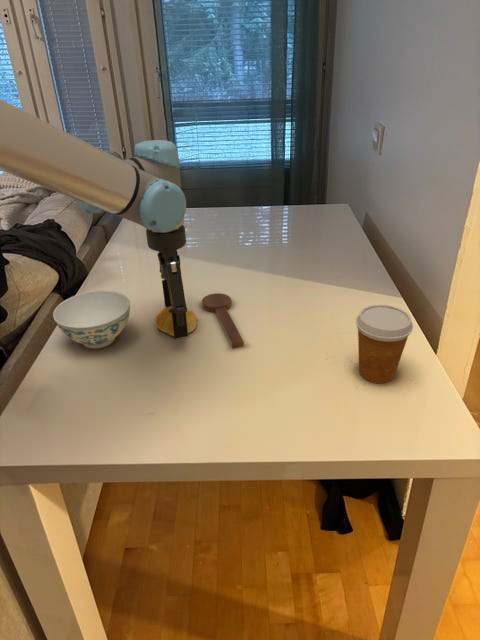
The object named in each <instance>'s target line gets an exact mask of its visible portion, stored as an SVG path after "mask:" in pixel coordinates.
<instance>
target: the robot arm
mask: <svg viewBox="0 0 480 640" xmlns="http://www.w3.org/2000/svg"><path fill="white" fill-rule="evenodd" d="M133 154H134V156H133V157H130V158H126V159H121V158H119V157H117V156H115V155H113V154H111V153H109V152H107V151H105V150H103V149H101V148H100V147H97V146H95V145H93V144H91V143H89V142H87V141H85V140H83V139H81V138H79V137H77V136H75V135H73V134H71V133H69V132H67V131H65V130H64V129H61V128H59V127H58V126H55V125H53V124H51V123H49V122H47V121H46V120H44V119H41V118H39V117H37V116H35V115H33V114H31V113H29V112H27V111H25V110H23V109H21V108H19V107H17V106H15V105H13V104H11V103H9V102H8V101H5V100H3V99H2V98H0V171H1V172H5V173H7V174H9V175H11V176H14V177H17V178H19V179H22V180H25V181H27V182H30V183H33V184H36V185H39V186H41V187H43V188H46V189H48V190H51V191H54V192H56V193H58V194H61V195H64V196H66V197H69V198H71V199H74V201H75V203H76V204H77V206H78V207H79V209H80V210H81V211H82V212H83V213H84V214H87V215H94V214H103V213H104V212H107V213H110V214H113V215H115V216H117V217H119V218H122V219H124V220H128V221H129V222H132V223H134V224H137V225H140V226H142V227H143V228H145V236H146V241H147V242H146V243H147V246H148V248H149V249H150V250H152V251H154V252H157V259H158V264H159V272H160V278H161V285H162V293H163V301H164V307H165V308H167V307H170V306H172V309H169V313H172V320H173V329H174V336H173V337H174V339H181V338H187V337H189V333H188V330H187V320H186V312H187V311H188V307H187V303H186V297H185V290H184V284H183V283H184V282H183V278H182V269H181V257H180V255H179V254H178V250H180V249H183V248H184V247H185V246H186V245H187V235H186V227H185V226H184V224H185V214H186V212H187V200H186V196H185V193H184V192H183V190H182V182H181V181H182V180H181V165H180V160H179V159H180V158H179V153H178V149H177V146H176V144H175V143H174V142H173V141H170V140H165V139H152V140H151V139H150V140H144V141H141V142H138V143H136V144H135V146H134V153H133Z"/></svg>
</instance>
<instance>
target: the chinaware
mask: <svg viewBox="0 0 480 640" xmlns="http://www.w3.org/2000/svg"><path fill="white" fill-rule="evenodd" d="M130 312H131V301H130V298H128V296H126V295H125V294H123V293H122V292H117V291H113V290H92V291H87V292H82V293H79V294H76V295H72V296H70V297H69V298H67V299H65V300H63V301H62V302H60V303H59V304H58V305H57V306H56V307H55V308H54V310H53V313H52V316H53V320H54V322H55V324H56V325H57V328H59V330H60V331H61V332H62V333H63V334H64V335H65V336H66V337H67V338H68V339H70V340H72V341H74V342H76V343H78V344H81V345H83V346H84V347H86V348H89V349H101V348H104V347H107V346H109V345H111V344H112V343H113V342H114V341H115V340H116V337H118V336H119V335H120V333H122V331H123V330H124V328H125V327H126V325H127V324H128V320H129V317H130Z"/></svg>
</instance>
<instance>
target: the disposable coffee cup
mask: <svg viewBox="0 0 480 640" xmlns="http://www.w3.org/2000/svg"><path fill="white" fill-rule="evenodd" d="M355 324H356V328H357V337H358V338H357V339H358V342H357V343H358V348H357V349H358V373H359V375H360V376H361V378H363V379H364V380H366V381H368V382H370V383H374V384H386V383H389V382H391V381H393V379H394V378H395V375H396V372H397V370H398V366H399V364H400V360H401V359H402V355H403V352H404V350H405V347H406V344H407V340H408V338H409V336H410V335H411V333H412V332H413V330H414V325H413V322H412V317H411V315H410V314H409V313H408V311H407V312H406V311H405V310H404V309H402V308H400V307H397V306H393V305H389V304H372V305H367V306H365V307H364V308H362V309H361V310H360V311H359V314H357V316H356V318H355Z"/></svg>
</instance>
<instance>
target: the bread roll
mask: <svg viewBox="0 0 480 640" xmlns="http://www.w3.org/2000/svg"><path fill="white" fill-rule="evenodd" d="M169 309H172V306H170V307H165V308H164V309H162V310H161V311H160V312H159V313H158V314H157V316H156V317H155V326H156V327H157V328H158V329H159V330H160V331H162V332H164V333H166V334H167V335H169V336H171V337H172V336H173V337H174V329H173V320H172V313H169ZM186 320H187V330H188V334H191V333H193V332H194V330H195V329H196V327H197V326H198V319H197V316H196V314H195V313H194V312H193V311H191V310H187V312H186Z"/></svg>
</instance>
